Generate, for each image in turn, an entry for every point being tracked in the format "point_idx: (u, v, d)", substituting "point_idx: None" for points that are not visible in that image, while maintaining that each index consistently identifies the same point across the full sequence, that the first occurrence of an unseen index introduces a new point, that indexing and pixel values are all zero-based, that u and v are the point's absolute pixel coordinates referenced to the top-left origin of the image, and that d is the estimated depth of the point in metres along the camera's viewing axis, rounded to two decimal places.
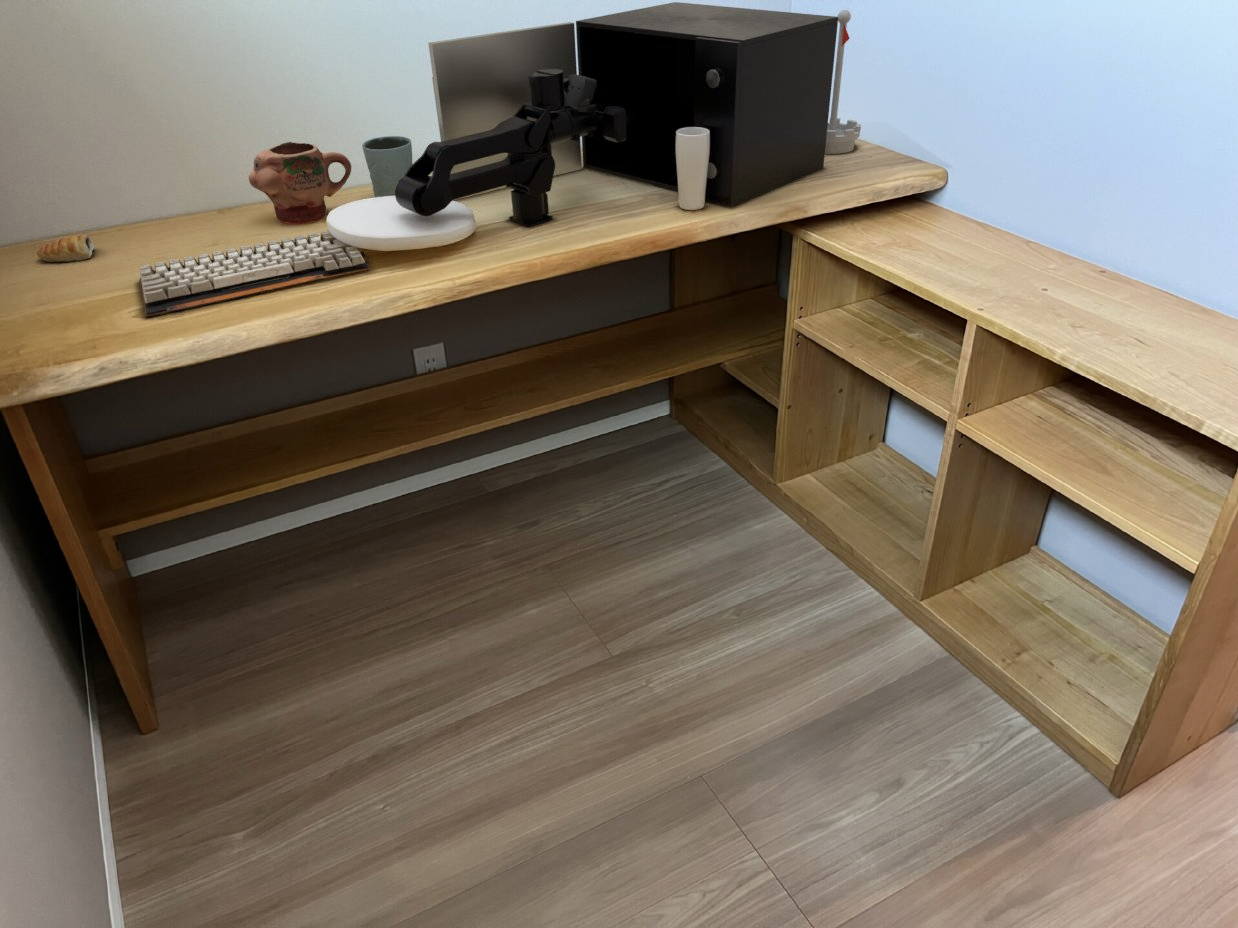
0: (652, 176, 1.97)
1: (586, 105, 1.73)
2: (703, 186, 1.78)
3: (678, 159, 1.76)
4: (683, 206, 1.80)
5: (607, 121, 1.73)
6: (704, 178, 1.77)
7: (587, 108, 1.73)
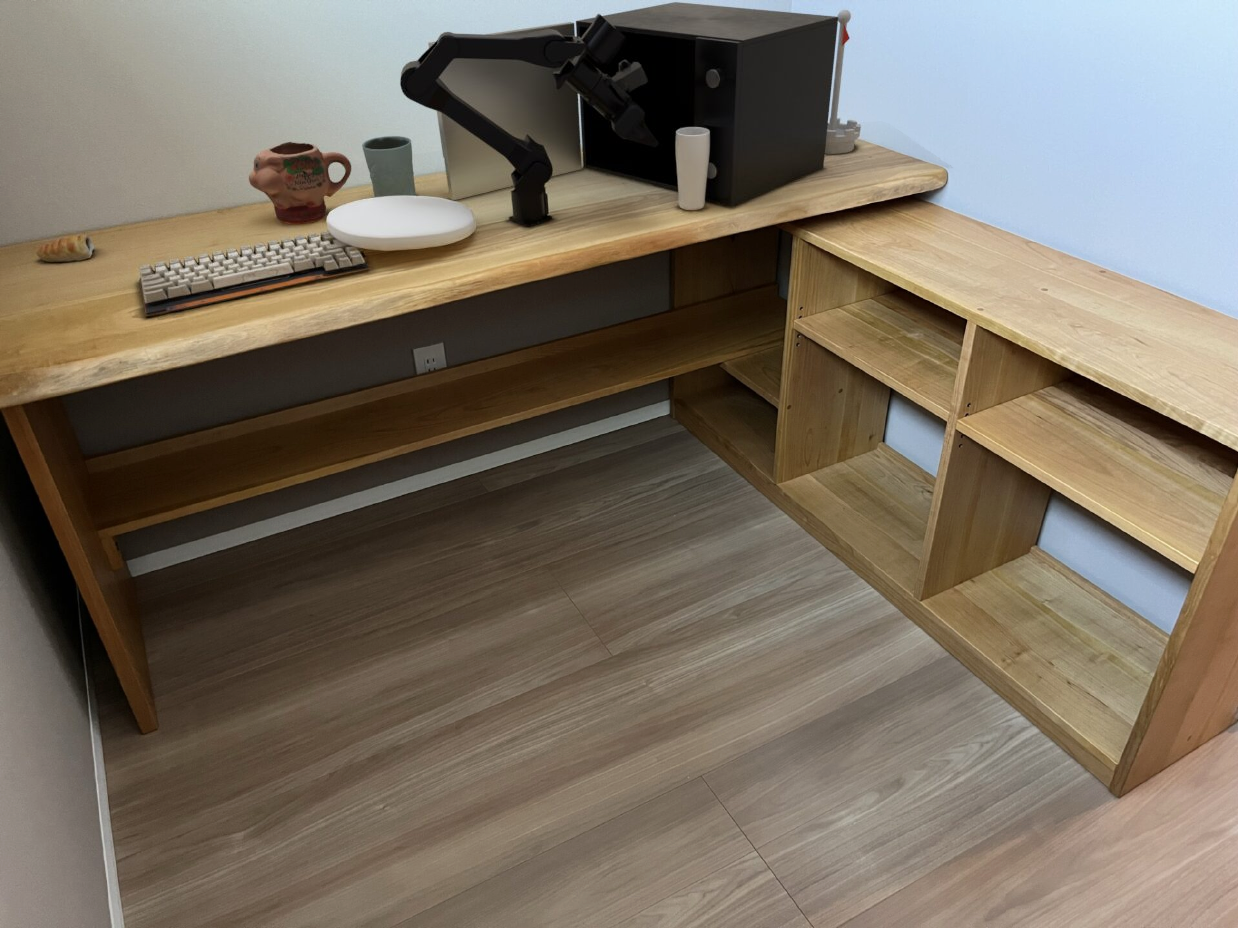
0: (652, 176, 1.97)
1: (622, 87, 1.65)
2: (703, 186, 1.78)
3: (678, 159, 1.76)
4: (683, 206, 1.80)
5: (623, 109, 1.63)
6: (704, 178, 1.77)
7: (620, 90, 1.65)
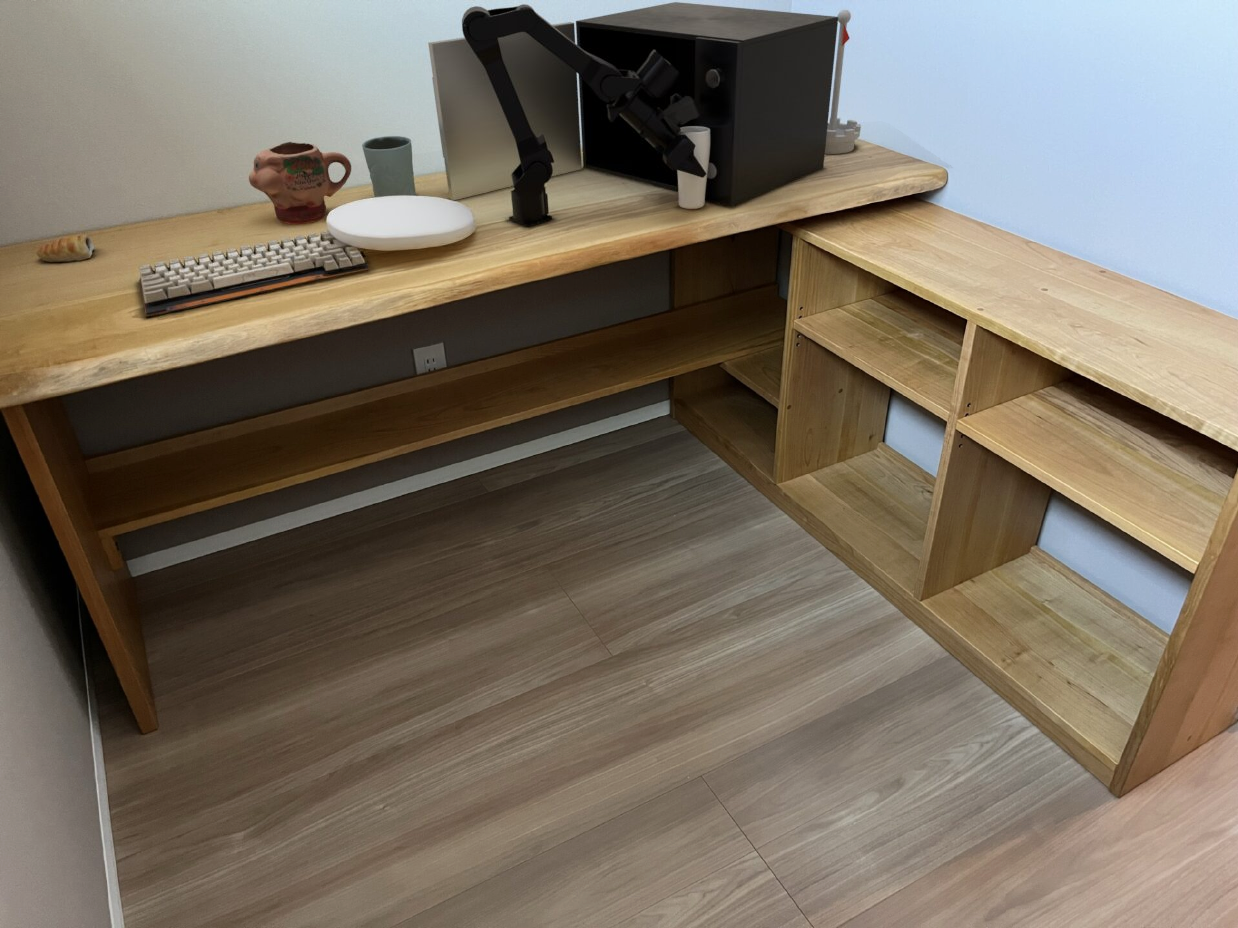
0: (652, 176, 1.97)
1: (674, 121, 1.70)
2: (703, 185, 1.78)
3: None
4: (683, 204, 1.80)
5: (675, 142, 1.68)
6: (704, 176, 1.78)
7: (672, 123, 1.70)
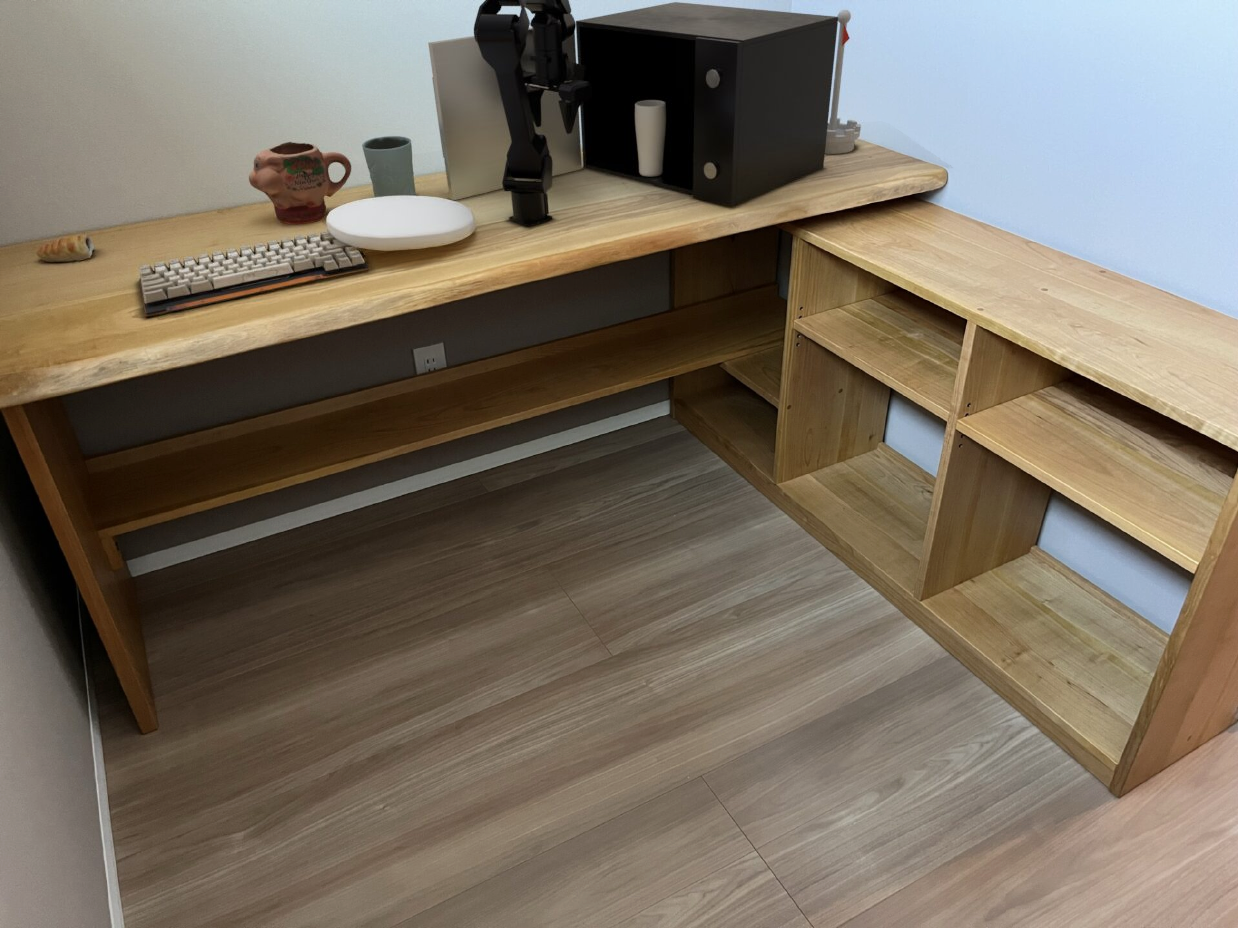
0: None
1: (570, 69, 1.80)
2: (663, 152, 1.96)
3: (644, 130, 1.90)
4: (649, 174, 1.96)
5: (577, 81, 1.77)
6: None
7: (569, 69, 1.79)
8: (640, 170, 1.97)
